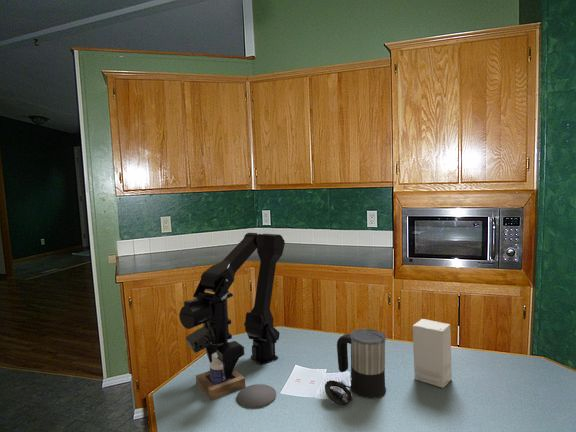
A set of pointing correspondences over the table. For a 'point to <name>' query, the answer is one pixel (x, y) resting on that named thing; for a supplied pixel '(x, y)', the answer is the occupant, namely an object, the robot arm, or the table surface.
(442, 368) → the skincare box
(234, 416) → the table surface
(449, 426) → the table surface
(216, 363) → the pill bottle
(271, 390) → the mat
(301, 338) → the table surface
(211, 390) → the collar block
